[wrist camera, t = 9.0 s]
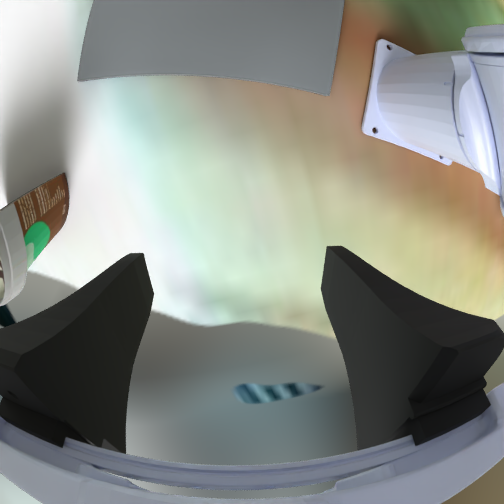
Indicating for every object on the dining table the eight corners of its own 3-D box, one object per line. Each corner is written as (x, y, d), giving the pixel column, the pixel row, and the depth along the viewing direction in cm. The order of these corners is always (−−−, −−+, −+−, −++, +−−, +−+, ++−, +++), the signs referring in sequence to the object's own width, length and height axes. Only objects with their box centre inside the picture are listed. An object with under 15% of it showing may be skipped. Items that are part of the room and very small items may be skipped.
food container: (23, 258, 22) (-28, 317, 13) (1, 208, 19) (-61, 258, 10) (102, 232, 21) (40, 309, 12) (76, 166, 18) (-8, 217, 9)
